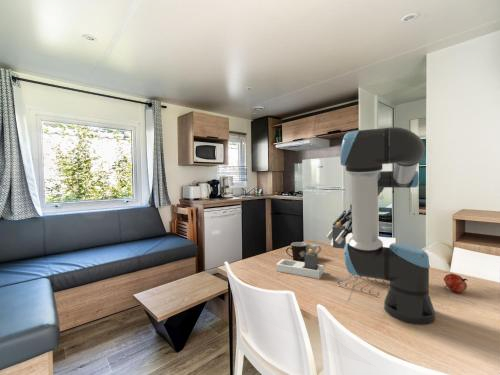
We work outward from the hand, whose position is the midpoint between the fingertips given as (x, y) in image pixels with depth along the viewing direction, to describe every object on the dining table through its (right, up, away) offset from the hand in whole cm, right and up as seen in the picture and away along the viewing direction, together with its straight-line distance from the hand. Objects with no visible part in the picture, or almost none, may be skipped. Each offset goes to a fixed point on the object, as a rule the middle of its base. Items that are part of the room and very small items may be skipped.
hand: (332, 240), depth 122 cm
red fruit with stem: (+44, -17, -18) cm, 51 cm away
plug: (+4, -3, +1) cm, 5 cm away
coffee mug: (-14, -17, +22) cm, 31 cm away
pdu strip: (-15, -17, +5) cm, 24 cm away
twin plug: (-10, -17, +2) cm, 20 cm away
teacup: (-5, -16, +26) cm, 32 cm away
